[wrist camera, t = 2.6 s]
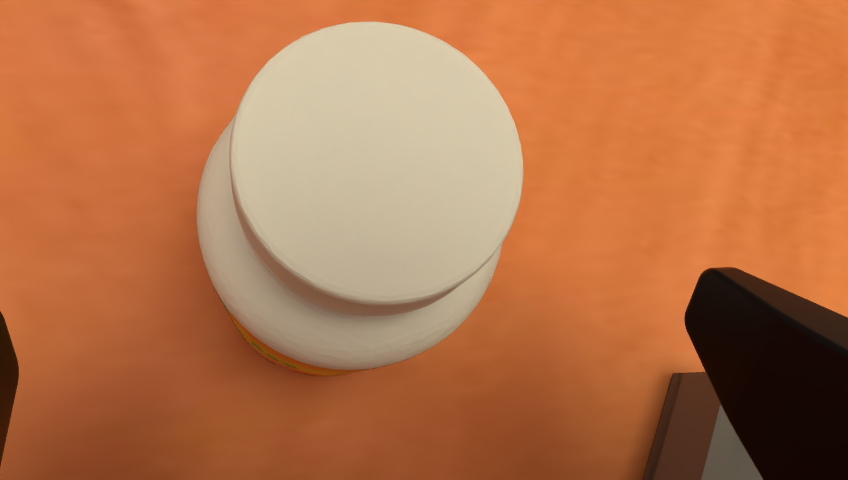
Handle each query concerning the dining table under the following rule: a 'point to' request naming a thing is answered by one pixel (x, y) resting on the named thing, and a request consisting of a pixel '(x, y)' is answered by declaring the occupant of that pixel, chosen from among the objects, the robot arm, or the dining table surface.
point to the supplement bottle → (359, 198)
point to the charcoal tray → (697, 436)
